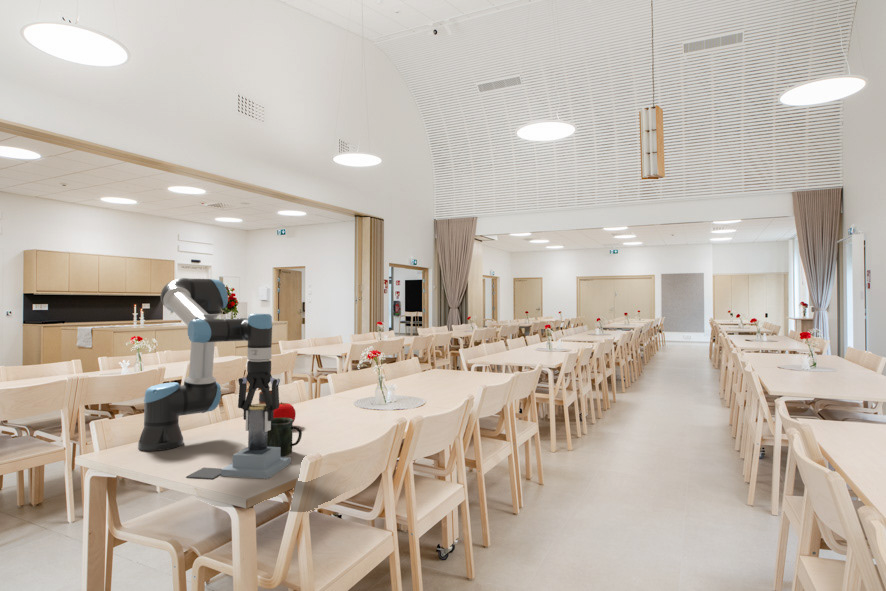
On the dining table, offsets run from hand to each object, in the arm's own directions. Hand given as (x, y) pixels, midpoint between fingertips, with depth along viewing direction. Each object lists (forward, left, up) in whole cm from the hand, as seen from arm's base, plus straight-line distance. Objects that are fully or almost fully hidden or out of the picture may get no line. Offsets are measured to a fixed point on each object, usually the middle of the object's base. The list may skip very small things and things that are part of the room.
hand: (258, 430), depth 169 cm
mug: (0, +18, -13) cm, 22 cm away
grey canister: (0, 0, -6) cm, 6 cm away
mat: (-13, -7, -13) cm, 20 cm away
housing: (0, 0, -13) cm, 13 cm away
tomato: (-19, +56, -13) cm, 61 cm away
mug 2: (-36, +79, -13) cm, 88 cm away
